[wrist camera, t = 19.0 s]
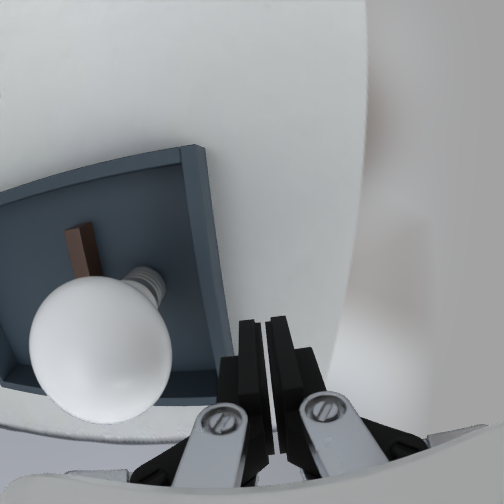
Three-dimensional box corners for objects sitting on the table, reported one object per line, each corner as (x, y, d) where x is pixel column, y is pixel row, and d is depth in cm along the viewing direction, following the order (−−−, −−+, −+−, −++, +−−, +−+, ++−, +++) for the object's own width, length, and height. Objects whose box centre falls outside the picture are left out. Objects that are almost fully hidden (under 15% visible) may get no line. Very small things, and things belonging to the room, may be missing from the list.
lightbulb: (145, 340, 20) (87, 463, 10) (87, 269, 19) (-18, 358, 8) (217, 296, 19) (192, 432, 9) (155, 213, 18) (51, 282, 7)
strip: (92, 221, 18) (78, 227, 16) (124, 344, 20) (116, 358, 18) (77, 224, 18) (63, 230, 16) (110, 344, 20) (101, 358, 18)
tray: (205, 147, 17) (195, 144, 14) (237, 372, 22) (236, 404, 18) (-32, 208, 17) (-59, 216, 14) (19, 366, 22) (1, 387, 18)
